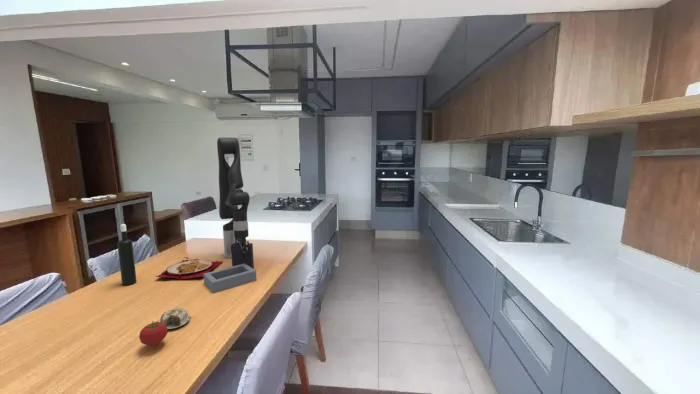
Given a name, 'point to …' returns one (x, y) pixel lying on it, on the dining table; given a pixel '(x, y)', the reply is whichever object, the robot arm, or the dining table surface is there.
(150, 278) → the dining table surface
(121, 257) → the wine bottle
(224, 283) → the tray
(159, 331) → the tomato
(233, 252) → the dark bevelled slab
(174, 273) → the plate with food
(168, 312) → the cake
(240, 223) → the robot arm
